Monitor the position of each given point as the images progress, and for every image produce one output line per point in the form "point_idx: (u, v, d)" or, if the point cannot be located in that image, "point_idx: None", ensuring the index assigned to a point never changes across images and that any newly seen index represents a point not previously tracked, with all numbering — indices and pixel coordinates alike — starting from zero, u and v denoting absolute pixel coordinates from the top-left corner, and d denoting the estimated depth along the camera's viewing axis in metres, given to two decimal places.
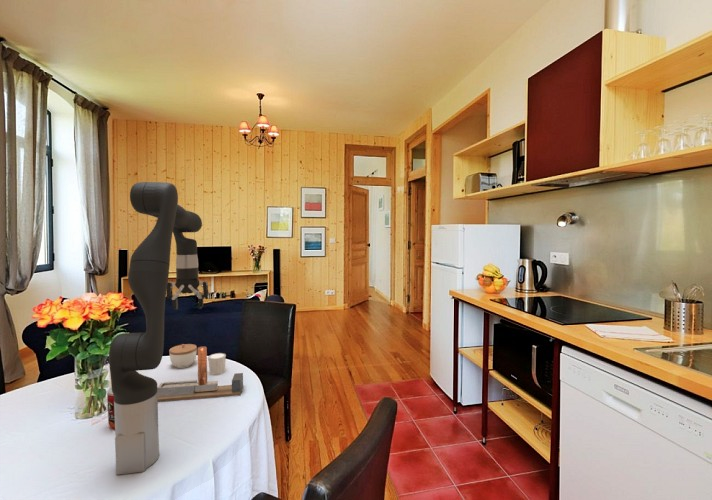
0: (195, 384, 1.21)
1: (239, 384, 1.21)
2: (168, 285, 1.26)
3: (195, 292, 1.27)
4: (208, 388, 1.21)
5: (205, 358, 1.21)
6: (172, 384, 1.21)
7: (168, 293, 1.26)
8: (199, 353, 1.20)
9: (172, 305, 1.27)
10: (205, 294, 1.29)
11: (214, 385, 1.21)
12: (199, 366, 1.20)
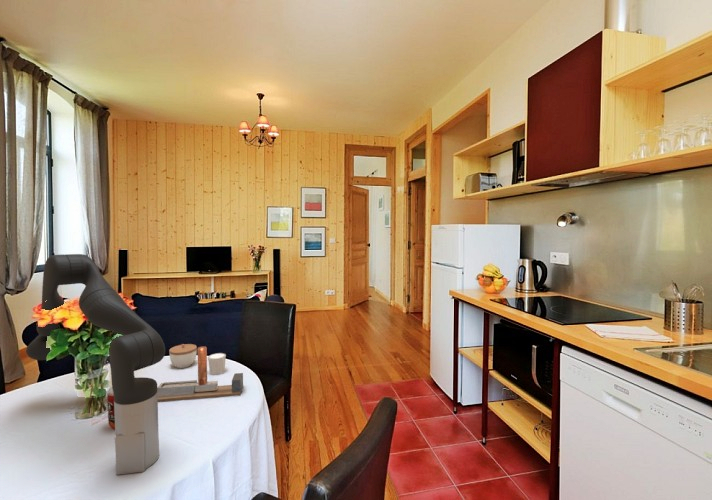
0: (195, 384, 1.21)
1: (239, 384, 1.21)
2: None
3: None
4: (208, 388, 1.21)
5: (205, 358, 1.21)
6: (172, 384, 1.21)
7: None
8: (199, 353, 1.20)
9: None
10: None
11: (214, 385, 1.21)
12: (199, 366, 1.20)
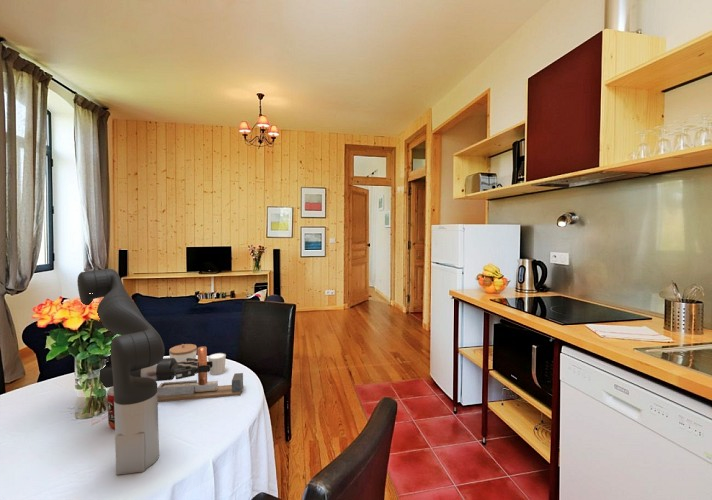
0: (195, 384, 1.21)
1: (239, 384, 1.21)
2: (179, 371, 1.15)
3: (191, 361, 1.22)
4: (208, 388, 1.21)
5: (205, 358, 1.21)
6: (172, 384, 1.21)
7: (188, 369, 1.16)
8: (199, 353, 1.20)
9: (204, 367, 1.19)
10: None
11: (214, 385, 1.21)
12: None
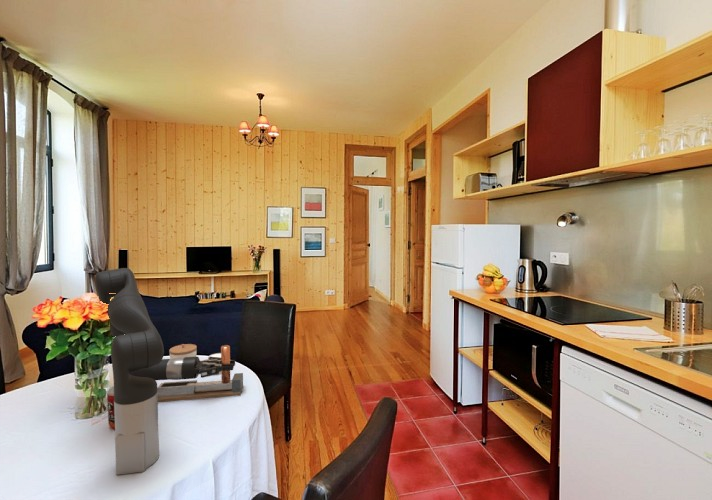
0: (218, 382, 1.23)
1: (239, 384, 1.21)
2: (204, 369, 1.16)
3: (215, 359, 1.24)
4: (231, 386, 1.23)
5: (228, 357, 1.22)
6: None
7: (213, 367, 1.18)
8: (223, 352, 1.21)
9: (228, 366, 1.20)
10: (220, 358, 1.27)
11: None
12: None
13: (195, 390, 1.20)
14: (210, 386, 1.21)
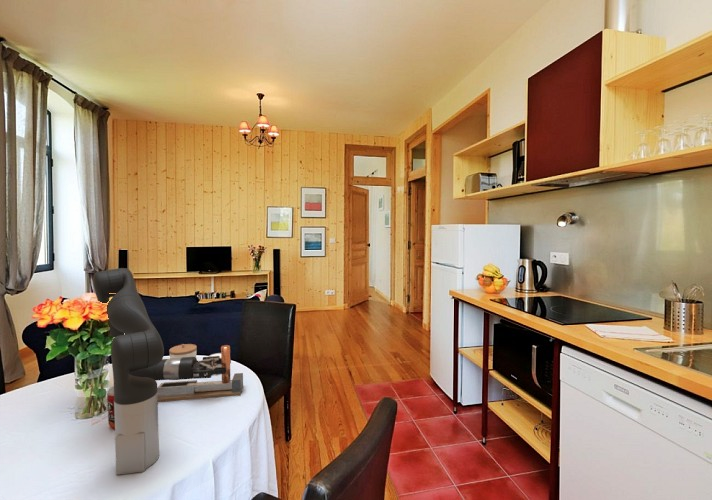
0: (219, 382, 1.23)
1: (239, 384, 1.21)
2: (196, 371, 1.15)
3: (211, 358, 1.25)
4: (231, 386, 1.23)
5: (228, 357, 1.22)
6: None
7: (205, 370, 1.16)
8: (223, 352, 1.21)
9: (220, 369, 1.18)
10: (216, 356, 1.28)
11: None
12: (223, 364, 1.22)
13: (195, 390, 1.20)
14: (210, 386, 1.21)
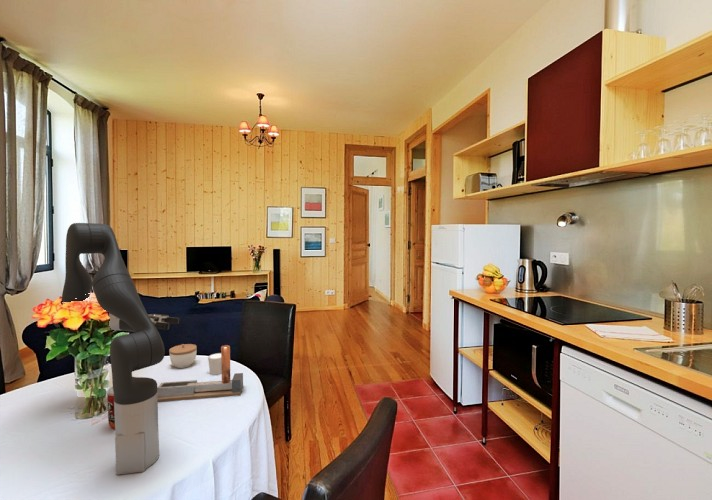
0: (219, 382, 1.23)
1: (239, 384, 1.21)
2: None
3: (158, 315, 1.20)
4: (231, 386, 1.23)
5: (228, 357, 1.22)
6: None
7: None
8: (223, 352, 1.21)
9: (162, 324, 1.12)
10: (165, 315, 1.23)
11: None
12: (223, 364, 1.22)
13: (195, 390, 1.20)
14: (210, 386, 1.21)
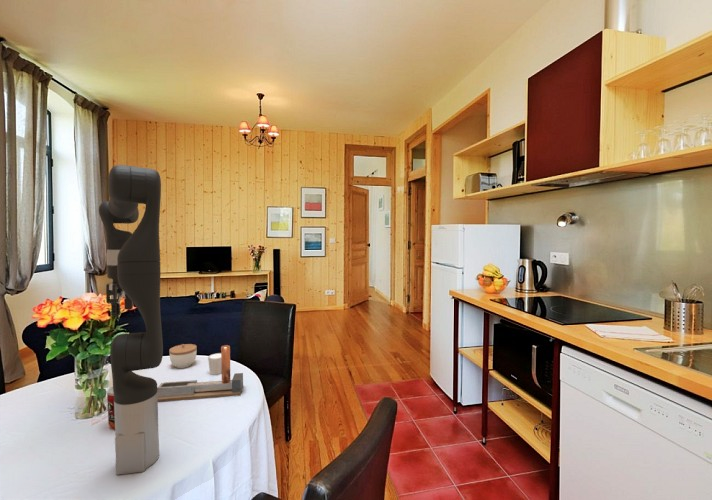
0: (219, 382, 1.23)
1: (239, 384, 1.21)
2: (115, 287, 1.05)
3: None
4: (231, 386, 1.23)
5: (228, 357, 1.22)
6: None
7: (116, 296, 1.05)
8: (223, 352, 1.21)
9: (116, 310, 1.06)
10: None
11: None
12: (223, 364, 1.22)
13: (195, 390, 1.20)
14: (210, 386, 1.21)
